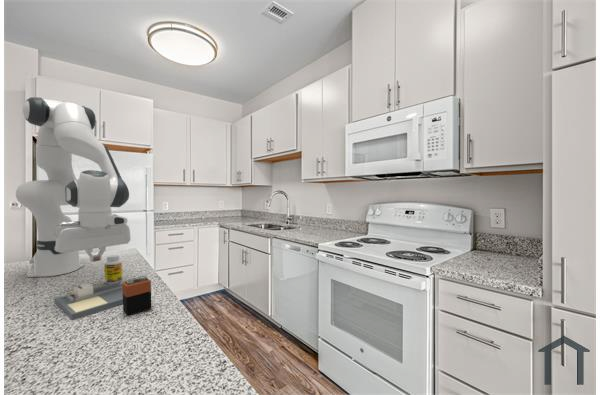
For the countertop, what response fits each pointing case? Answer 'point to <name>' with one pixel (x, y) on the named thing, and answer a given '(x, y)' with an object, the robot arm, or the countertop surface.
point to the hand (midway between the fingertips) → (95, 260)
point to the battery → (136, 295)
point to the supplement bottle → (113, 269)
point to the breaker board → (91, 300)
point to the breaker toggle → (83, 290)
